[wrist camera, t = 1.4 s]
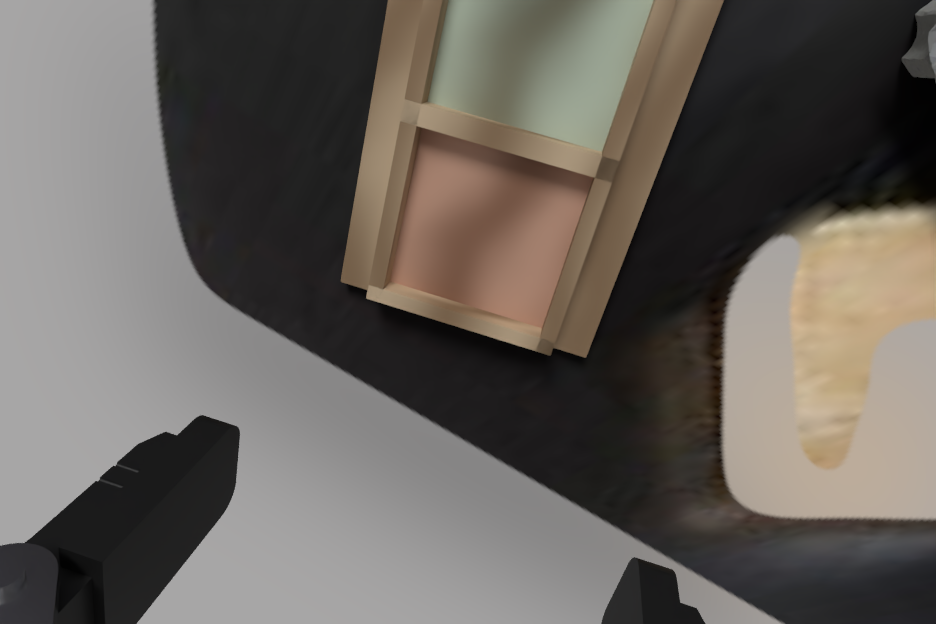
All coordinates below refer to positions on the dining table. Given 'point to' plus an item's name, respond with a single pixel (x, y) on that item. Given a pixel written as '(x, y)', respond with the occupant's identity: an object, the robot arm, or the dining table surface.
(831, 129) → the dining table surface
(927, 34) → the egg carton
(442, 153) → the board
